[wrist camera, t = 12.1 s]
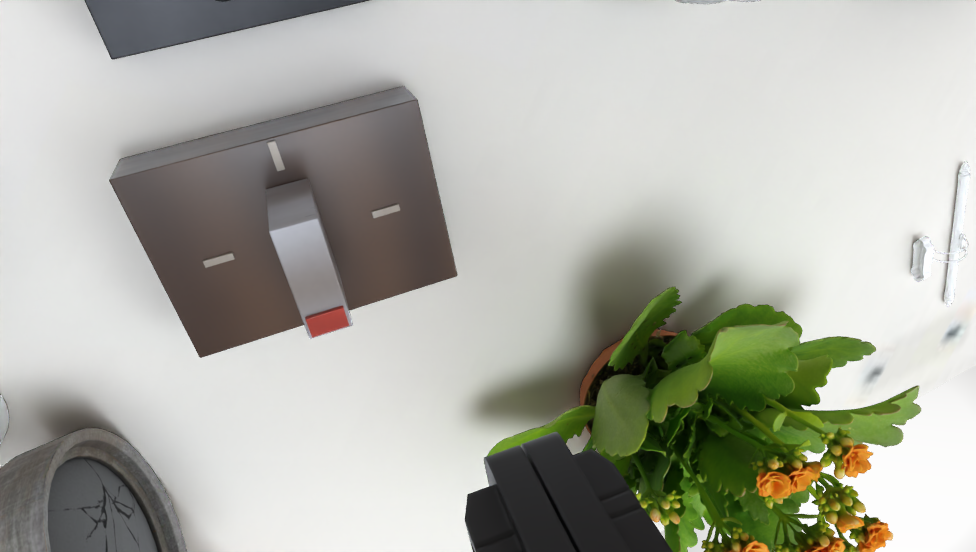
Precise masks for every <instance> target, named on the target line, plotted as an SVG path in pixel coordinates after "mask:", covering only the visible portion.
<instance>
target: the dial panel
mask: <svg viewBox="0 0 976 552" xmlns="http://www.w3.org/2000/svg"><path fill="white" fill-rule="evenodd" d="M306 178H307V179H308V180H309V183H310V186H311V189H312V192H313V195H314V198H315V201H316V205H317V208H318V211H319V214H320V217H321V220H322V223H323V226H324V229H325V232H326V235H327V238H328V241H329V244H330V247H331V250H332V253H333V256H334V259H335V263H336V266H337V269H338V272H339V275H340V278H341V282H342V286H343V289H344V293H345V297H346V301H347V304H348V308H349V310H352V309H355V308H358V307H362V306H365V305H368V304H371V303H374V302H377V301H380V300H384V299H387V298H390V297H393V296H396V295H399V294H402V293H405V292H409V291H412V290H415V289H418V288H421V287H424V286H427V285H431V284H434V283H437V282H440V281H443V280H446V279H449V278H452V277H456V276H457V271H456V267H455V262H454V258H453V253H452V249H451V245H450V240H449V236H448V231H447V227H446V223H445V218H444V214H443V209H442V205H441V201H440V196H439V192H438V187H437V183H436V179H435V174H434V170H433V165H432V161H431V157H430V152H429V148H428V143H427V139H426V135H425V130H424V126H423V122H422V117H421V113H420V108H419V104H418V100H417V99H416V98H415V97H414V96H413V94H412V93H411V92H410V91H409V90H408V89H407V88H406V87H405V86H402V87H398V88H394V89H390V90H386V91H383V92H379V93H375V94H371V95H367V96H363V97H359V98H355V99H351V100H348V101H344V102H340V103H336V104H332V105H328V106H324V107H320V108H317V109H313V110H309V111H305V112H301V113H297V114H293V115H289V116H285V117H282V118H278V119H274V120H270V121H266V122H262V123H258V124H254V125H251V126H247V127H243V128H239V129H235V130H231V131H227V132H223V133H219V134H216V135H212V136H208V137H204V138H200V139H196V140H192V141H188V142H185V143H181V144H177V145H173V146H169V147H165V148H161V149H157V150H154V151H150V152H146V153H142V154H138V155H134V156H130V157H126V158H122V159H120V160H119V162H118V164H117V166H116V168H115V170H114V172H113V174H112V176H111V178H110V180H109V181H110V183H111V185H112V187H113V189H114V191H115V193H116V195H117V197H118V199H119V201H120V203H121V205H122V207H123V209H124V211H125V212H126V214H127V216H128V218H129V220H130V222H131V224H132V226H133V228H134V230H135V232H136V234H137V236H138V238H139V240H140V242H141V244H142V246H143V248H144V250H145V252H146V253H147V255H148V257H149V259H150V261H151V263H152V265H153V267H154V269H155V271H156V273H157V275H158V277H159V279H160V281H161V283H162V285H163V287H164V289H165V291H166V293H167V294H168V296H169V298H170V300H171V302H172V304H173V306H174V308H175V310H176V312H177V314H178V316H179V318H180V320H181V322H182V324H183V326H184V328H185V330H186V332H187V333H188V335H189V337H190V339H191V341H192V343H193V345H194V347H195V349H196V351H197V353H198V355H199V357H200V358H202V357H205V356H208V355H211V354H214V353H217V352H221V351H224V350H227V349H230V348H233V347H236V346H239V345H242V344H246V343H249V342H252V341H255V340H258V339H261V338H264V337H268V336H271V335H274V334H277V333H280V332H283V331H286V330H289V329H293V328H296V327H299V326H302V325H304V323H303V320H302V317H301V315H300V312H299V310H298V307H297V304H296V302H295V299H294V296H293V294H292V291H291V288H290V286H289V283H288V280H287V278H286V275H285V273H284V270H283V267H282V265H281V262H280V259H279V257H278V254H277V251H276V249H275V246H274V244H273V241H272V238H271V236H270V233H269V223H268V211H267V199H266V189H269V188H273V187H277V186H280V185H284V184H288V183H292V182H295V181H299V180H303V179H306Z"/></svg>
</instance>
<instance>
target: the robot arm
mask: <svg viewBox="0 0 976 552" xmlns="http://www.w3.org/2000/svg"><path fill="white" fill-rule="evenodd" d="M484 464H485V468H486V473H487V477H488V482H489V487H487V488H484V489H481V490H478V491H476V492H473V493H470V494H468V496H467V505H466V514H465V523H466V526H467V530H468V534H469V538H470V542H471V546H472V549H473V552H673V551H672V550H671V548H670V547H669V545H668V544H667V542H666V541H665V539H664V538H663V536H662V535H661V533H660V532H659V530H658V529H657V527H656V526H655V524H654V523H653V521H652V520H651V518H650V517H649V515H648V514H647V512H646V511H645V509H644V508H642V507H641V505H640V502H639V500H638V499H637V497H636V496H635V495H634V493H633V492H632V490H630V489H629V486H628V484H627V483H626V481H625V480H624V478H623V477H622V475H621V474H620V472H619V471H618V469H617V468H616V466H615V465H614V464H613V463H612V462H610V461H609V460H607V459H606V458H604V457H603V456H602V455H600V454H599V453H597V452H596V451H594V450H593V449H589V450H587V451H584V452H581V453H578V454H576V455H572V453H571V452H570V450H569V449H568V447H567V445H566V444H565V442H564V440H563V439H562V437H561V436H560V434H559V433H558V432H554V433H551V434H548V435H545V436H542V437H540V438H537V439H534V440H531V441H528V442H526V443H523V444H521V446H520V445H518V446H515V447H512V448H509V449H507V450H504V451H501V452H498V453H495V454H493V455H490V456H487V457H484Z"/></svg>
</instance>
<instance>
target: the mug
mask: <svg viewBox="0 0 976 552" xmlns="http://www.w3.org/2000/svg"><path fill="white" fill-rule="evenodd" d="M676 1H678V2H681V3H697V4H715V3H719V2H723V1H726V0H676ZM731 1H741V2H755V1H760V0H731Z"/></svg>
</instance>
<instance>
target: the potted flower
mask: <svg viewBox="0 0 976 552" xmlns="http://www.w3.org/2000/svg"><path fill="white" fill-rule="evenodd" d="M678 292H679V290H677V289H676V287H671V288H668V289H666V290H665V291H664V292H662V293H661V294H660V295H658V296H657V297H655V298H654V299H652V300H651V301H650V302H649V304H648V305H647V306H646V308H645V309H644V310H643V312H642V313H641V314H640V315H639V316H638V317H637V319H636V320H635V321H634V322H633V324H632V326H631V328H630V330H629V331H628V333H627V334H626V335H625V336H624V338H622V339H621V340H620V341H618V342H616V343H615V344H613V345H611V346H610V347H608V348H606V349H604V350H603V351H602V353H601V354H600V356H599V357H598V358H597V359H596V360H595V361H594V363H593V364H592V366H591V367H590V369H589V371H588V373H587V375H586V376H585V378H584V379H583V381H582V385H581V389H580V406H578V407H574V408H572V409H570V410H568V411H566V412H564V413H563V414H561V415H560V416H559V417H557V418H556V419H555V420H553V421H552V422H550V423H548V424H546V425H544V426H541V427H539V428H534V429H530V430H528V431H525V432H522V433H520V434H517V435H514V436H512V437H509V438H506V439H504V440H502V441H500V442H499V443H497V444H496V445H495V446H494V447H493V448H492V449H491V451H490V452H489V454H488V456H490V455H493V454H495V453H498V452H501V451H504V450H507V449H509V448H512V447H515V446H518V445H520V446H521V444H523V443H526V442H528V441H531V440H534V439H537V438H540V437H542V436H545V435H548V434H551V433H554V432H558V433H559V434H560V436H561V437H562V439H563V440H564V442H565V444H566V443H567V440H568V439H569V438H573V436H574V434H576V435H577V436H578V437H579V436H580V435H581V433H582V431H583V429H584V427H585V426H586V428H587V430H588V431H589V433H590V434H591V438H590V440H589V441H588V443H587V444H586V446H585V448H584V449H583V451H582V452H584V451H587V450H589V449H593V450H594V451H595V450H596V449H597V450H598V452H600V455H602V456H603V457H604V458H606V459H607V460H609V461H610V462H612V463H613V464H614V465H615V466H616V468H617V469H618V471H619V472H620V474H621V475H622V477H623V478H624V480H625V481H626V483H627V484H628V486H629V489H630V490H632V492H633V493H634V495H635V496H636V497H637V499H638V500H639V502H640V505H641V507H642V508H644V509H645V511H646V512H647V514H648V515H649V517H650V518H651V520H653V521H654V522H659V521H661V523H662V524H663V525H664V529H665V541H666V542H667V544H668V545H669V547H670V548H671V550H672V551H673V552H688V550H687V547H693V546H695V545H696V544H697V541H698V540H697V535H696V533H695V532H694V528H696V529H699V530H704V528H705V526H704V523H703V521H702V519H701V517H704V518H705V520H706V522H707V523H708V524H709V525H710V526H711V527H710V529H709V533H708V537H707V539H706V540H703V541H702V542H703V544H702V548H705V551H704V552H875V550H876V549H878V548H880V547H885V541H886V540H892V539H893V534H892V533H891V532H890V531H888V530H889V529H888V524H887V523H883V522H880V520H879V519H878V518H869V517H868V516H867V515H866V514H865V516H864V518H861V517H857V516H855V515H856V511H857V512H861V513H864V512H865V510H866V509H865V506H864V504H863V503H861V502H860V501H859V500H858V499H857V498H856V497H857V496H858V493H857V492H856V491H855V490H853V489H852V488H853V486H847V485H846V486H845V487H842V486H843V484H841V483H839V481H838V480H837V479H836V478H838V479H842V478H843V477H844V476H845V475H847V476H848V477H855V478H856V477H857V475H858V473H865V472H866V471H867V470H870V469H871V464H870V463H869V461H868V460H867V459H868V458H869V457H870V456H871V455H873V453H872V452H868V451H867V449H868V446H867V445H864V444H862V442H865V443H870V444H875V445H882V446H884V447H887V446H894V445H897V444H899V443H901V442H902V440H903V432H902V430H901V429H899V428H898V427H895V426H892V424H895V425H905V424H906V421H907V420H909V419H911V418H913V417H915V416H916V415H917V414H919V413H920V411H921V408H920V406H919V405H917V404H914V403H913V401H914V400H915V399H916V398H917V396H918V391H919V386H915V387H912V388H910V389H908V390H906V391H904V392H902V393H901V394H898V395H896V396H894V397H892V398H890V399H888V400H886V401H884V402H881V403H878V404H875V405H872V406H868V407H864V408H859V409H852V410H835V411H816V410H804V409H803V407H802V406H801V405H806V406H811V405H812V404H814V405H816V404H819V403H820V397H819V394H818V393H817V392H816V390H815V388H816V387H823V386H825V385H826V384H827V379H826V376H827V375H828V374H829V372H830V370H831V368H836V367H843V366H845V365H846V364H847V361H859V360H862V359H863V355H871V354H872V353H873V352H875V351H876V348H875V346H873V345H872V344H871V343H870V342H861V340H860V339H856V338H849V337H841V336H837V337H827V338H822V339H817V340H813V341H809V342H804V343H800V340H799V338H800V336H801V334H802V328H801V326H800V325H798V324H797V323H795V322H794V321H793V319H792V318H791V317H790V316H788V315H787V314H785V313H784V312H783V311H781V312H776V311H775V310H774V308H773V307H772V306H769V305H758V306H756V307H754V306H752V305H750V304H743V305H740V306H738V307H737V308H732V309H730V310H728V311H726V312H724V313H722V314H721V315H720V316H718V317H717V318H716V319H714V320H713V321H711V322H709V323H707V324H706V325H705V326H703V327H702V328H700V329H698V330H696V331H695V332H693V333H692V334H691V336H688V335H687V331H686V330H683V331H681V332H679V333H675V332H669V331H665V330H660V329H657V328H659V327H661V326H663V325H665V324H667V323H666V322H664V321H663V320H664V319H665V318H669V317H670V314H671V313H674V312H676V309H675V308H673V307H674V306H676V305H679V304H680V303H682V302H681V301H676V300H677V299H679V297H680V295H678V294H677V293H678ZM825 444H827V448H828V450H827V452H826V453H824V454H823V457H822V458H821V460H820V462H817V461H815V462H805V461H807V457H806V456H805V455H803V454H802V453H801V452H805V451H807V450H809V451H811V452H813V453H822V452H823V451H824V450H825ZM832 461H833V462H834V464H835V470H834V475H835V477H836V478H834V477H833V476H831V475H829V474H825V473H822V472H821V470H822V469H823V467H827V466H829V465H830V464H831V463H832ZM824 478H825V479H826V480H828V481H829V482H831V483H832V484H833V486H834V487H833V486H831V485H829V484H828V483H827V482H826V481H825V480H824ZM813 481H815V483H816V490H815V489H814V488H813V487H812V486H811V485H812V483H813ZM818 481H819V482H820V483H821V484H822V485H823V486H824V487H825V488H826V491H825V492H824V493H823V492H822V491H824V488H823V487H822V486H820V485H818V484H817V482H818ZM637 490H638V494H636V492H637ZM809 492H810V493H811V494H812V495H813V496H814V497H815V498H816V500H814V501H812V503H814V504H815V505H819V506H818V510H819V511H820V512H819V514H818V515H805V514H794V513H798V512H799V507H800V506H801V503H806V502H808V499H809ZM824 516H825V518H824ZM798 518H817V523H816V524H814V525H812V526H809V527H808V525H807V524H802V523H801V522H800V521H799V519H798ZM825 519H826V521H828V522H829V523H831V524H834V525H835V527H836V529H837V532H838V534H839V538H836V537H833V535H834V534H835V532H834V531H833V530H832V529H830V528H828V527H829V526H830V525H829V524H828V523H826V522H825ZM714 527H716V531H715V537H714V539H713V541H712V542H708V541H709V539H710V537H711V535H712V531H713V528H714ZM802 529H803V531H804V532H805V533H806V534H805V533H803V532H802V531H801V530H802ZM847 530H850V531H851V534H850V536H849V537H850V539H855V541H856V542H857V543H858V545H857V547H854V546H853V545H852V544H850V543H849V542H848V541H847V540H846V539H845V538H844V536H843V534H842V533H845V532H846V531H847ZM719 533H720V534H721V536H722V543H719V542H718V535H719ZM727 534H728V535H730V536H731V538H730V537H728V536H727Z"/></svg>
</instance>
